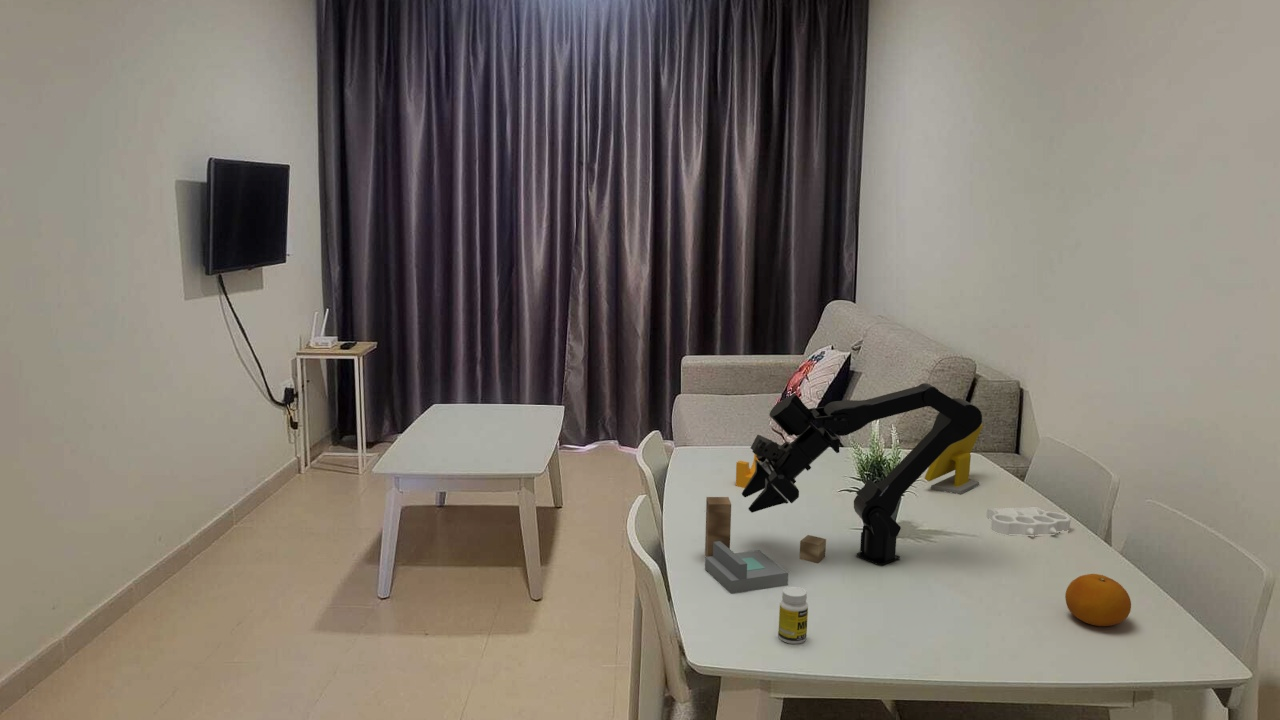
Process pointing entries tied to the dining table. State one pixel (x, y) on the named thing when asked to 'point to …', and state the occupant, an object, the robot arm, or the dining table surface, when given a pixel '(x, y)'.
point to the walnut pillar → (717, 522)
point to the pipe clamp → (744, 472)
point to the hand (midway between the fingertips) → (746, 503)
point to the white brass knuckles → (1027, 521)
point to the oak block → (812, 548)
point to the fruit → (1098, 600)
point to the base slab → (744, 569)
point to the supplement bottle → (793, 615)
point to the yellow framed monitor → (954, 466)
